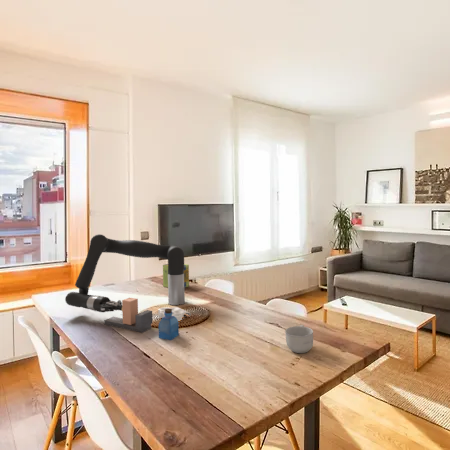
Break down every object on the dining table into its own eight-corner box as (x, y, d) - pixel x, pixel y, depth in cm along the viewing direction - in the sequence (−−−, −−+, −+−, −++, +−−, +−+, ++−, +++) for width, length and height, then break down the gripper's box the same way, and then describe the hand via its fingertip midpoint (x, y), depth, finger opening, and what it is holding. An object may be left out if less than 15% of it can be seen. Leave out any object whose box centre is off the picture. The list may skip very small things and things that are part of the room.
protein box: (179, 289, 232) (179, 266, 231) (162, 286, 240) (162, 264, 239) (189, 286, 241) (189, 264, 240) (172, 283, 249) (172, 262, 248)
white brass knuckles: (194, 319, 174) (168, 325, 165) (176, 310, 189) (151, 316, 179) (194, 312, 174) (168, 318, 165) (175, 304, 188) (151, 309, 179)
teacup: (307, 358, 128) (308, 337, 128) (280, 352, 134) (280, 332, 134) (319, 345, 140) (319, 325, 140) (293, 339, 146) (293, 321, 145)
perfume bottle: (178, 335, 152) (178, 308, 152) (170, 340, 147) (170, 312, 146) (167, 333, 155) (166, 306, 154) (158, 338, 149) (158, 310, 149)
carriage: (120, 322, 162) (120, 299, 162) (128, 319, 167) (127, 297, 166) (130, 324, 159) (130, 301, 159) (138, 321, 164) (137, 298, 163)
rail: (102, 324, 166) (102, 308, 165) (115, 319, 173) (114, 304, 173) (141, 333, 155) (140, 315, 154) (152, 327, 162) (152, 310, 161)
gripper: (87, 299, 166) (113, 304, 158) (108, 293, 178) (133, 297, 170) (88, 314, 167) (114, 320, 159) (108, 307, 178) (134, 312, 170)
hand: (124, 308), depth 164 cm, fingers closed
